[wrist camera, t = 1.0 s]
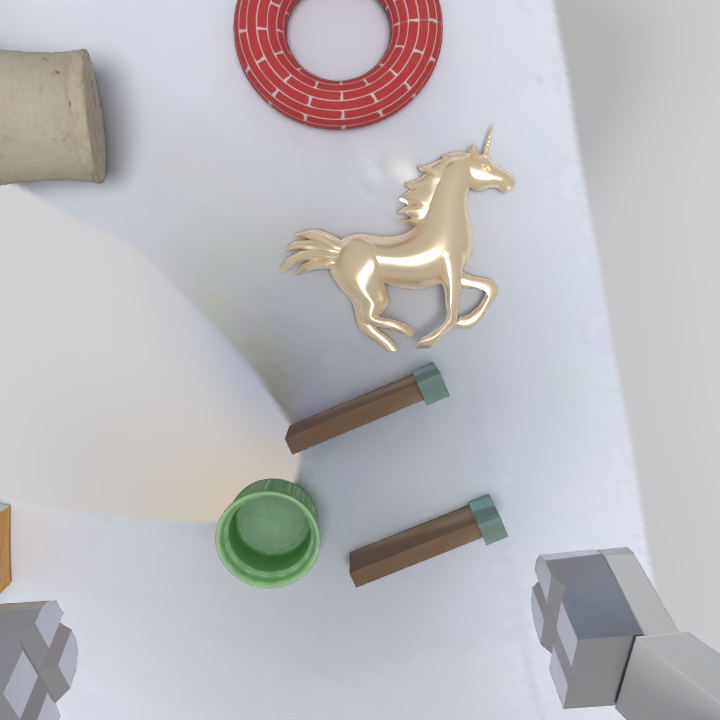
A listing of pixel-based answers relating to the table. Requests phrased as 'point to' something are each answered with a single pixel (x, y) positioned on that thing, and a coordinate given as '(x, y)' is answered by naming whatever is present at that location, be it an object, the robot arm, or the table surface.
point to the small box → (4, 546)
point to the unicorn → (412, 248)
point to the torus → (338, 98)
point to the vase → (50, 118)
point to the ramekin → (269, 534)
